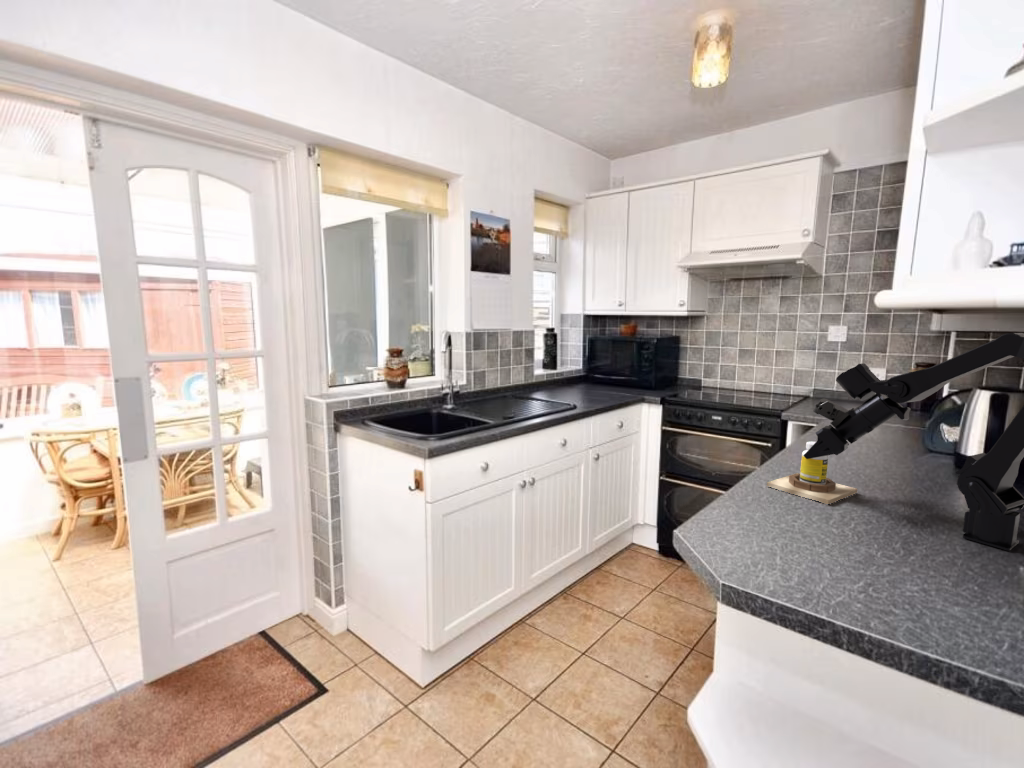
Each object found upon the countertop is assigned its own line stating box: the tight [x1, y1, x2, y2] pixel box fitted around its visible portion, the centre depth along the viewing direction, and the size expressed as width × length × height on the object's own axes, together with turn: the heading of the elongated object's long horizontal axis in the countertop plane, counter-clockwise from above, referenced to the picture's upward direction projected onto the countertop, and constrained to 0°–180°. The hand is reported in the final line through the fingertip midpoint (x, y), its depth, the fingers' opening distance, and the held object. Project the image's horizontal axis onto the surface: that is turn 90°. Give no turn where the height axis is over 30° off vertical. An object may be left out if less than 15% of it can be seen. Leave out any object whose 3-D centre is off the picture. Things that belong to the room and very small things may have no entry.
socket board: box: [766, 472, 858, 505], centre depth 118 cm, size 14×14×3 cm
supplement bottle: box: [799, 441, 829, 485], centre depth 117 cm, size 5×5×10 cm
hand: (808, 455), depth 118 cm, fingers closed on supplement bottle, 5 cm apart
